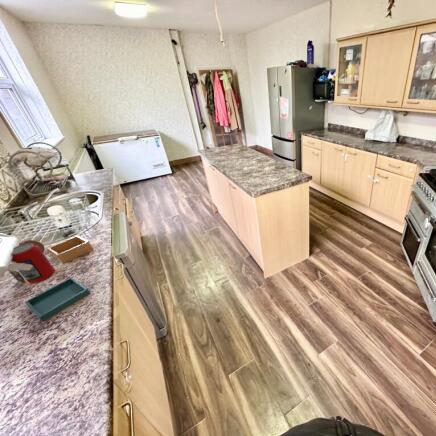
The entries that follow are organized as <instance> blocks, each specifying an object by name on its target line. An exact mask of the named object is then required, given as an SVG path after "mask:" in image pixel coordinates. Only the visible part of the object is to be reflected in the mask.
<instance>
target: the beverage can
mask: <svg viewBox="0 0 436 436" xmlns="http://www.w3.org/2000/svg"><path fill="white" fill-rule="evenodd" d="M13 249H14V250H13V252H12V253H10V254H12V255H13V258H12V260H11V261H13V262H16V263H25V262H27V263H32V264H33V265H32V268H31V269H30V270H28V271H27V270H18V271H19V272H20V273H21V274H22V275H23V277H24V278H25V279H26V280H27V281H28V282H29V283H30V284H39V283H42V282H45V281H47V280H49V279H50V278H51V277H53V275H54V274H55V273H56V269H55V267H54V266H53V265H52V264H51V262H50V260H49V259H48V258H47V256H46V255H45V254H44V252H42V251H41V250H40V248H39V247H38V246H35V245H33V244H32V243H28V244H23V245H21V244H19V245H18V246H17V247H15V248H13Z"/></svg>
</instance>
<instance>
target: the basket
mask: <svg viewBox="0 0 436 436" xmlns="http://www.w3.org/2000/svg"><path fill="white" fill-rule="evenodd" d="M46 250H47V251H48V253H49V254H50V255H51V257H52V258H54V259H55V260H56V261H58V262H59V263H60V264H63V265H64V264H66V263H68V262H70V261H72V260H74V259H76V258H79V257H80V256H83V255H84V254H86V253H88V252H91V251H93V250H94V248H93V246H92V244H91V242H90V241H89V240H87V239H86V238H84V237H82V236H80V235H75V236H72V237H70V238H68V239H66V240H63V241H61V242H58V243H56V244H54V245H51V246H49V247H47V248H46Z"/></svg>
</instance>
